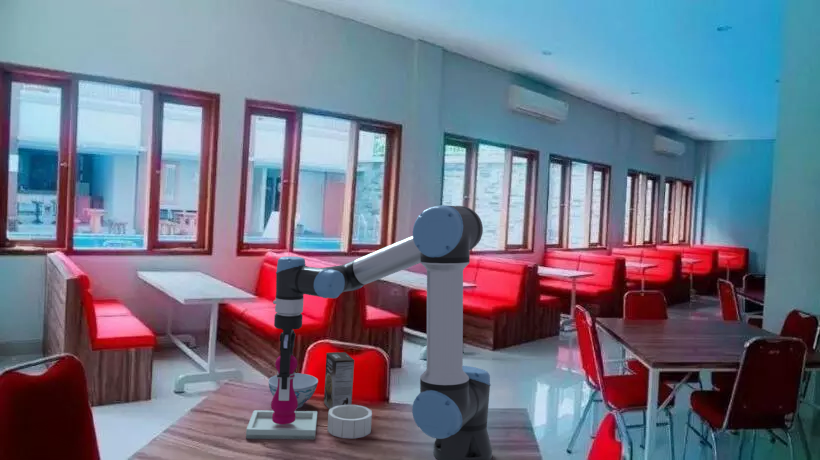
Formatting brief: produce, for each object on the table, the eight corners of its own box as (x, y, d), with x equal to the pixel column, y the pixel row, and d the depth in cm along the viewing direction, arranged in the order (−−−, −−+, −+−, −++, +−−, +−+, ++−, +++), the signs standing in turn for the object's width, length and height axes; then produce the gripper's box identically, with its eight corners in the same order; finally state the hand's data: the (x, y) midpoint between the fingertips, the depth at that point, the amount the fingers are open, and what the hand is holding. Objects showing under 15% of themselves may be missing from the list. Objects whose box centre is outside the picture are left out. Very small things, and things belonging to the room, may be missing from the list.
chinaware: (297, 393, 197) (298, 370, 196) (326, 406, 186) (327, 382, 186) (257, 403, 186) (258, 378, 185) (286, 417, 175) (287, 391, 175)
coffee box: (323, 403, 189) (325, 352, 188) (342, 401, 192) (345, 351, 191) (331, 413, 181) (334, 360, 180) (352, 411, 184) (354, 359, 183)
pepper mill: (290, 426, 163) (294, 353, 162) (265, 423, 164) (269, 350, 163) (300, 417, 170) (304, 347, 169) (277, 414, 171) (280, 344, 170)
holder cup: (378, 428, 172) (379, 410, 172) (355, 441, 161) (356, 423, 161) (344, 418, 177) (344, 401, 177) (319, 431, 167) (320, 413, 167)
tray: (316, 419, 175) (317, 411, 175) (314, 439, 161) (315, 430, 161) (253, 418, 173) (253, 410, 173) (245, 438, 159) (246, 429, 159)
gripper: (278, 306, 174) (274, 385, 176) (270, 319, 156) (266, 407, 157) (304, 307, 175) (300, 385, 176) (300, 320, 156) (296, 408, 158)
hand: (284, 395), depth 167 cm, fingers closed on pepper mill, 6 cm apart
